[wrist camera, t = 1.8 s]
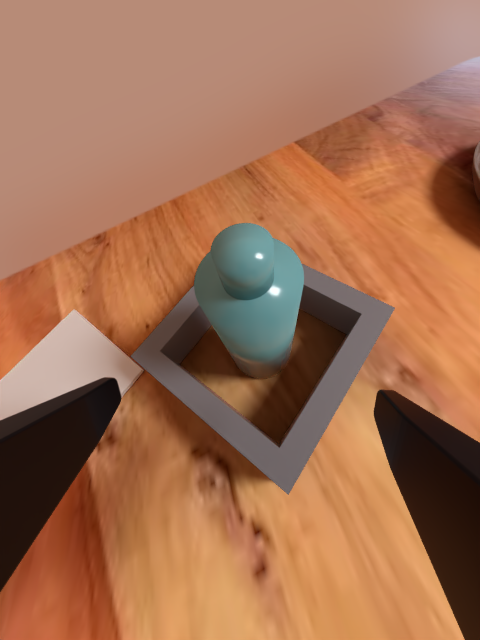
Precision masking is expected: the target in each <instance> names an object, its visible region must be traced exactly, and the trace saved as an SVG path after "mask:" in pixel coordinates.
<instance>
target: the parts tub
mask: <svg viewBox="0 0 480 640" xmlns="http://www.w3.org/2000/svg"><path fill="white" fill-rule="evenodd" d="M302 267H303V271H304V285H303V290H302V296H301V301H300V306H299V309H301V310H303V311H305V312H307V313H309V314H310V315H312V316H314V317H316V318H318V319H319V320H321V321H323V322H325V323H327V324H329V325H330V326H332V327H334V328H336V329H338V330H339V331H341V332H343V333H345V334H347V335H346V336H345V338H344V340H343V341H342V343H341V344H340V346H339V348H338V349H337V351H336V353H335V354H334V356H333V357H332V359H331V361H330V362H329V364H328V366H327V367H326V369H325V370H324V372H323V374H322V375H321V377H320V379H319V380H318V382H317V383H316V385H315V387H314V388H313V390H312V391H311V393H310V395H309V396H308V398H307V400H306V401H305V403H304V404H303V406H302V408H301V409H300V411H299V413H298V414H297V416H296V417H295V419H294V421H293V422H292V424H291V425H290V427H289V429H288V430H287V432H286V434H285V435H284V437H283V438H282V440H281V442H280V443H279V444H278V443H277V442H275V441H274V440H273V439H272V438H270V437H269V436H268V435H267V434H265V433H264V432H263V431H262V430H260V429H259V428H258V427H257V426H256V425H254V424H253V423H252V422H251V421H249V420H248V419H247V418H246V417H244V416H243V415H242V414H241V413H239V412H238V411H237V410H236V409H234V408H233V407H232V406H231V405H229V404H228V403H227V402H226V401H224V400H223V399H222V398H221V397H219V396H218V395H217V394H216V393H214V392H213V391H212V390H211V389H210V388H208V387H207V386H206V385H205V384H203V383H202V382H201V381H200V380H198V379H197V378H196V377H195V376H193V375H192V374H191V373H190V372H188V371H187V370H186V369H185V368H183V367H182V366H181V365H180V363H181V362H182V361H183V359H184V358H185V357H186V356H187V355H188V353H189V352H190V351H191V350H192V348H193V347H194V346H195V345H196V344H197V342H198V341H199V340H200V339H201V337H202V336H203V335H204V334H205V332H206V331H207V330H208V329H209V328H210V326H211V325H212V324H211V323H210V321H209V320H208V318H207V316H206V315H205V313H204V311H203V310H202V308H201V307H200V305H199V303H198V301H197V299H196V295H195V290H194V286H193V287H192V288H191V289H190V290H189V291H188V292H187V294H186V295H185V296H184V297H183V298H182V299H181V300H180V301H179V303H178V304H177V305H176V306H175V307H174V308H173V309H172V310H171V312H170V313H169V314H168V315H167V316H166V317H165V318H164V319H163V320H162V322H161V323H160V324H159V325H158V326H157V327H156V328H155V329H154V331H153V332H152V333H151V334H150V335H149V336H148V337H147V338H146V340H145V341H144V342H143V343H142V344H141V345H140V346H139V347H138V349H137V350H136V351H135V352H134V353H133V354H132V355H131V357H132V358H133V359H134V360H135V361H136V362H137V363H139V364H140V365H141V366H142V367H143V368H144V369H145V370H147V371H148V372H149V373H150V374H151V375H152V376H153V377H155V378H156V379H157V380H158V381H159V382H160V383H161V384H162V385H164V386H165V387H166V388H167V389H168V390H169V391H170V392H172V393H173V394H174V395H175V396H176V397H177V398H178V399H180V400H181V401H182V402H183V403H184V404H185V405H186V406H188V407H189V408H190V409H191V410H192V411H193V412H194V413H196V414H197V415H198V416H199V417H200V418H201V419H202V420H204V421H205V422H206V423H207V424H208V425H209V426H210V427H212V428H213V429H214V430H215V431H216V432H217V433H218V434H219V435H221V436H222V437H223V438H224V439H225V440H226V441H227V442H229V443H230V444H231V445H232V446H233V447H234V448H235V449H237V450H238V451H239V452H240V453H241V454H242V455H243V456H245V457H246V458H247V459H248V460H249V461H250V462H251V463H253V464H254V465H255V466H256V467H257V468H258V469H259V470H261V471H262V472H263V473H264V474H265V475H266V476H267V477H269V478H270V479H271V480H272V481H273V482H274V483H275V484H276V485H278V486H279V487H280V488H281V489H282V490H283V491H284V492H286V493H287V494H288V495H289V493H290V491H291V489H292V488H293V486H294V484H295V482H296V481H297V479H298V477H299V475H300V474H301V472H302V470H303V468H304V467H305V465H306V463H307V461H308V460H309V458H310V456H311V454H312V453H313V451H314V449H315V447H316V446H317V444H318V442H319V440H320V439H321V437H322V435H323V433H324V432H325V430H326V428H327V426H328V425H329V423H330V421H331V419H332V417H333V416H334V414H335V412H336V410H337V409H338V407H339V405H340V403H341V402H342V400H343V398H344V396H345V395H346V393H347V391H348V389H349V388H350V386H351V384H352V382H353V381H354V379H355V377H356V375H357V374H358V372H359V370H360V368H361V367H362V365H363V363H364V361H365V360H366V358H367V356H368V354H369V353H370V351H371V349H372V347H373V346H374V344H375V342H376V340H377V339H378V337H379V335H380V333H381V332H382V330H383V328H384V326H385V325H386V323H387V321H388V319H389V318H390V316H391V314H392V312H393V311H394V309H395V308H394V307H392V306H390V305H388V304H386V303H384V302H382V301H380V300H377V299H375V298H373V297H371V296H369V295H367V294H365V293H363V292H361V291H358V290H356V289H354V288H352V287H350V286H348V285H346V284H344V283H342V282H339V281H337V280H335V279H333V278H331V277H329V276H327V275H325V274H323V273H320V272H318V271H316V270H314V269H312V268H310V267H308V266H306V265H303V264H302Z"/></svg>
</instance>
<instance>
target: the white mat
mask: <svg viewBox="0 0 480 640" xmlns="http://www.w3.org/2000/svg"><path fill="white" fill-rule="evenodd" d="M143 372H144V370H143V369H142V368H141V367H140V366H139V365H138V364H136V363H135V362H134V361H133V360H132V359H131V358H130V357H129V356H127V355H126V354H125V353H124V352H123V351H122V350H121V349H119V348H118V347H117V346H116V345H115V344H114V343H113V342H111V341H110V340H109V339H108V338H107V337H106V336H105V335H104V334H102V333H101V332H100V331H99V330H98V329H97V328H96V327H94V326H93V325H92V324H91V323H90V322H89V321H88V320H87V319H85V318H84V317H83V316H82V315H81V314H80V313H79V312H77V311H76V310H73V311H71V312H70V313H69V314H68V315H67V316H66V317H65V318H64V319H63V320H62V321H61V322H60V323H59V324H58V325H57V326H56V327H55V328H54V329H53V330H52V331H51V332H50V333H49V334H48V335H47V336H46V337H45V338H44V339H43V340H41V341H40V342H39V343H38V344H37V345H36V346H35V347H34V348H33V349H32V350H31V351H30V352H29V353H28V354H27V355H26V356H25V357H24V358H23V359H22V360H21V361H20V362H19V363H18V364H17V365H16V366H15V367H14V368H13V369H12V370H10V371H9V372H8V373H7V374H6V375H5V376H4V377H3V378H2V379H1V380H0V420H2V419H5V418H7V417H9V416H12V415H14V414H17V413H19V412H21V411H24V410H26V409H29V408H31V407H33V406H36V405H38V404H41V403H43V402H45V401H48V400H50V399H53V398H55V397H57V396H60V395H62V394H65V393H67V392H69V391H72V390H74V389H77V388H79V387H81V386H84V385H86V384H89V383H91V382H93V381H96V380H98V379H101V378H103V377H112V378H115V379H116V380H117V382H118V385H119V389H120V393H121V398H122V396H123V395H124V394H125V393H126V392H127V391H128V389H129V388H130V387H131V386H132V385H133V383H134V382H135V381H136V380H137V379H138V378H139V376H140V375H141V374H142V373H143Z"/></svg>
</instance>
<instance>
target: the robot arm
mask: <svg viewBox="0 0 480 640" xmlns="http://www.w3.org/2000/svg"><path fill="white" fill-rule="evenodd" d="M120 402H121V393H120V389H119V385H118V382H117V380H116V379H115V378H112V377H103V378H101V379H98V380H96V381H93V382H91V383H89V384H86V385H84V386H81V387H79V388H77V389H74V390H72V391H69V392H67V393H65V394H62V395H60V396H57V397H55V398H53V399H50V400H48V401H45V402H43V403H41V404H38V405H36V406H33V407H31V408H29V409H26V410H24V411H21V412H19V413H17V414H14V415H12V416H9V417H7V418H5V419H2V420H0V592H1V590H2V589H3V587H4V586H5V584H6V583H7V581H8V580H9V578H10V577H11V575H12V574H13V572H14V571H15V569H16V568H17V566H18V565H19V563H20V562H21V560H22V558H23V557H24V555H25V554H26V552H27V551H28V549H29V548H30V546H31V545H32V543H33V542H34V540H35V539H36V537H37V536H38V534H39V533H40V531H41V530H42V528H43V527H44V525H45V523H46V522H47V520H48V519H49V517H50V516H51V514H52V513H53V511H54V510H55V508H56V507H57V505H58V504H59V502H60V501H61V499H62V498H63V496H64V495H65V493H66V492H67V490H68V488H69V487H70V485H71V484H72V482H73V481H74V479H75V478H76V476H77V475H78V473H79V472H80V470H81V469H82V467H83V466H84V464H85V463H86V461H87V460H88V458H89V457H90V455H91V453H92V452H93V450H94V449H95V447H96V446H97V444H98V443H99V441H100V439H101V437H102V436H103V434H104V432H105V430H106V428H107V426H108V425H109V423H110V421H111V419H112V417H113V415H114V413H115V412H116V410H117V408H118V406H119V404H120ZM374 418H375V421H376V425H377V428H378V431H379V434H380V437H381V440H382V444H383V447H384V450H385V453H386V456H387V459H388V462H389V465H390V468H391V471H392V473H393V475H394V478H395V480H396V482H397V485H398V487H399V489H400V492H401V494H402V496H403V499H404V501H405V503H406V505H407V508H408V510H409V512H410V515H411V517H412V519H413V522H414V524H415V526H416V528H417V531H418V533H419V535H420V538H421V540H422V542H423V545H424V547H425V549H426V551H427V554H428V556H429V558H430V561H431V563H432V565H433V568H434V570H435V572H436V574H437V577H438V579H439V581H440V584H441V586H442V588H443V591H444V593H445V595H446V598H447V600H448V602H449V604H450V607H451V609H452V611H453V614H454V616H455V618H456V621H457V623H458V625H459V627H460V630H461V632H462V634H463V637H464V639H465V640H480V443H479V442H478V441H476V440H474V439H473V438H471V437H469V436H468V435H466V434H464V433H463V432H461V431H460V430H458V429H456V428H455V427H453V426H451V425H450V424H448V423H446V422H445V421H443V420H442V419H440V418H438V417H437V416H435V415H433V414H432V413H430V412H428V411H427V410H425V409H423V408H422V407H420V406H419V405H417V404H415V403H414V402H412V401H410V400H409V399H407V398H405V397H404V396H402V395H401V394H399V393H397V392H396V391H393V390H379V391H378V392H377V396H376V402H375V407H374Z"/></svg>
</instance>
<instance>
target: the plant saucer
mask: <svg viewBox="0 0 480 640" xmlns="http://www.w3.org/2000/svg"><path fill="white" fill-rule="evenodd" d="M472 176H473V183H474V188H475V192H476V195H477V197H478V199H479V201H480V141H479V143H478V145H477V146H476V149H475V152H474V157H473V164H472Z"/></svg>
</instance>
